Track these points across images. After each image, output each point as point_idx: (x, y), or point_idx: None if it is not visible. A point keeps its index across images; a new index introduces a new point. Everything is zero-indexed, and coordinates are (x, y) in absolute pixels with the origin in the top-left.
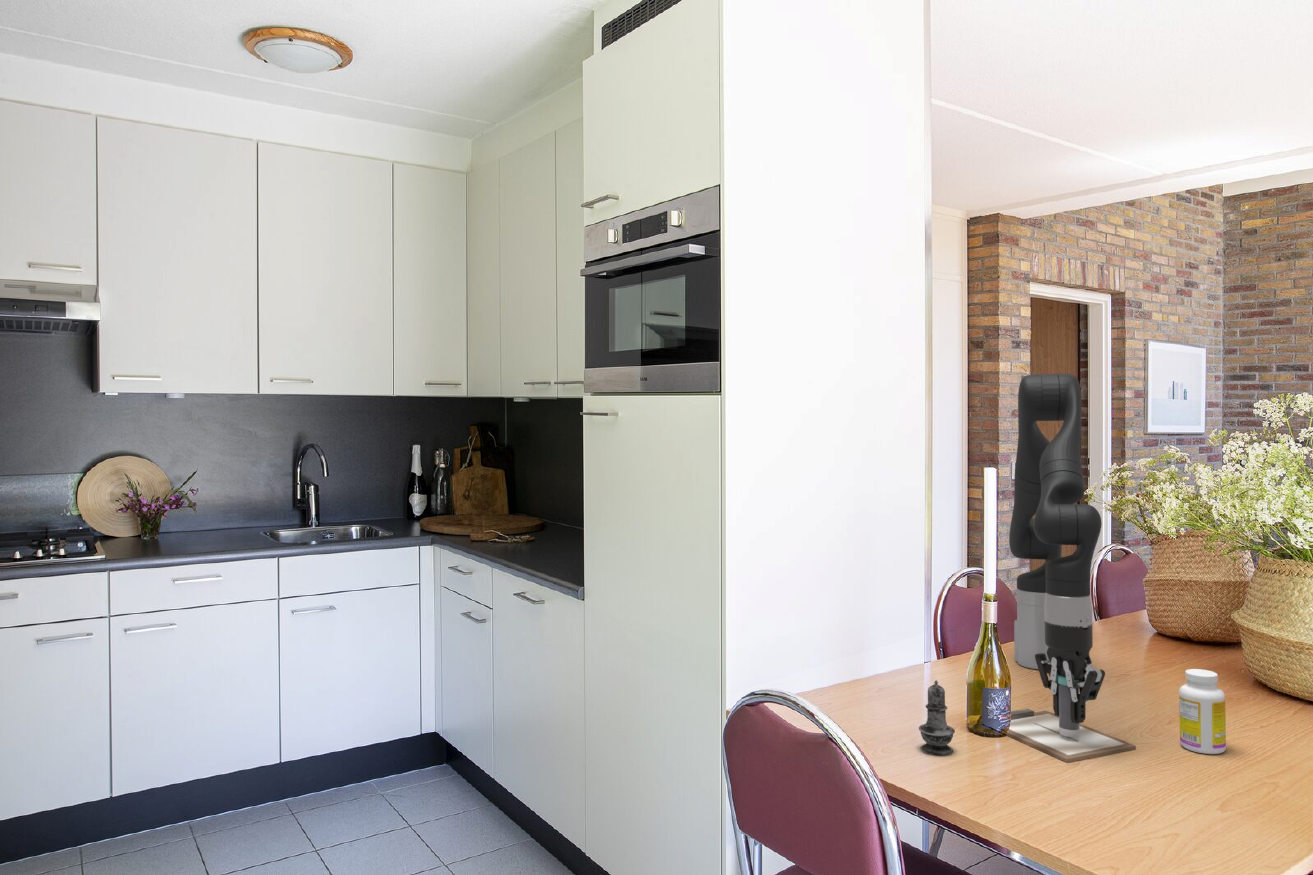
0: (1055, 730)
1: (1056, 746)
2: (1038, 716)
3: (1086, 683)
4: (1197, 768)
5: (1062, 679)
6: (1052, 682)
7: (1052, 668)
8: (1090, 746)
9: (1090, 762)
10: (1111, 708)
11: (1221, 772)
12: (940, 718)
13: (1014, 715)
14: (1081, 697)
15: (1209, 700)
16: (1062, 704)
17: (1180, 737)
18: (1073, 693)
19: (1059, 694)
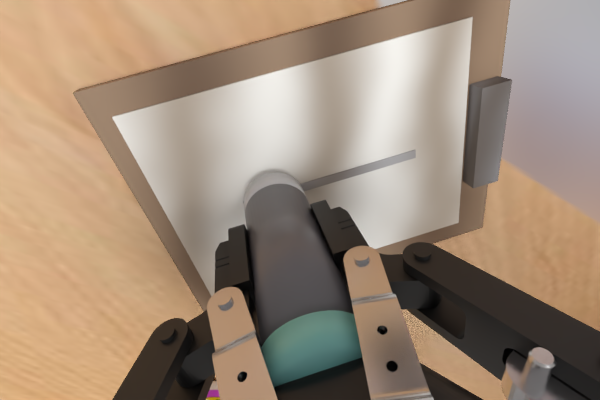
0: (342, 184)
1: (203, 118)
2: (453, 190)
3: None
4: (82, 368)
5: (300, 350)
6: (385, 289)
7: (413, 372)
8: (199, 219)
9: (96, 170)
10: (438, 341)
11: (62, 394)
12: None
13: (477, 114)
14: (166, 333)
15: None
16: (278, 241)
17: (218, 396)
18: (229, 321)
19: (308, 265)
